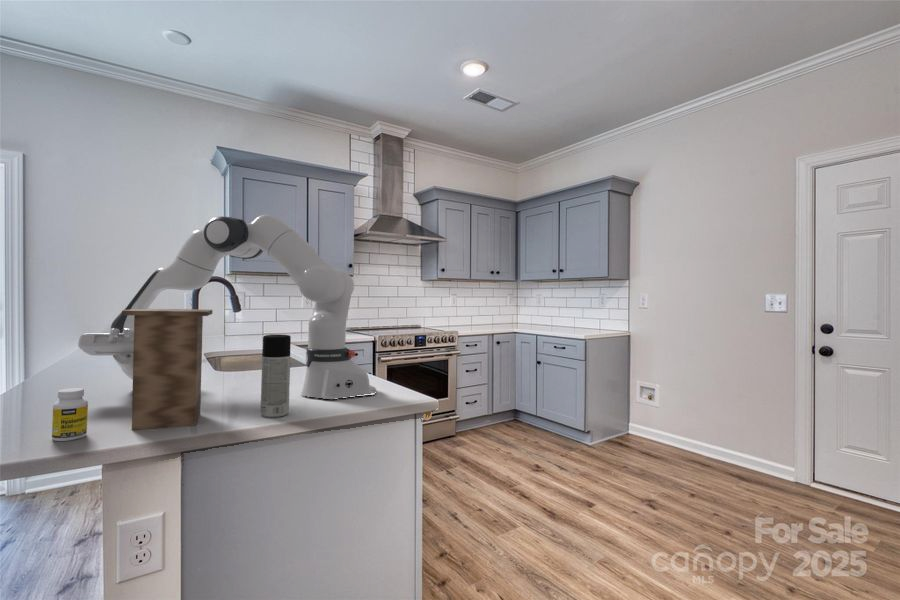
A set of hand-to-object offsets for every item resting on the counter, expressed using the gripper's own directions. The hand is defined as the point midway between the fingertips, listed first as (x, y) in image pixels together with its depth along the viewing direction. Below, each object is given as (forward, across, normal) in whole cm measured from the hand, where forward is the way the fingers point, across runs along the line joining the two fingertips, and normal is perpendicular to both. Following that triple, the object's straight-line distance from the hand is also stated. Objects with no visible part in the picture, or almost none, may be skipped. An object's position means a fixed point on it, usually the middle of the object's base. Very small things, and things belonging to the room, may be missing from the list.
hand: (120, 331), depth 113 cm
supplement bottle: (+12, -2, +30) cm, 32 cm away
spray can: (+7, +37, +27) cm, 46 cm away
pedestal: (+6, +14, +26) cm, 30 cm away
